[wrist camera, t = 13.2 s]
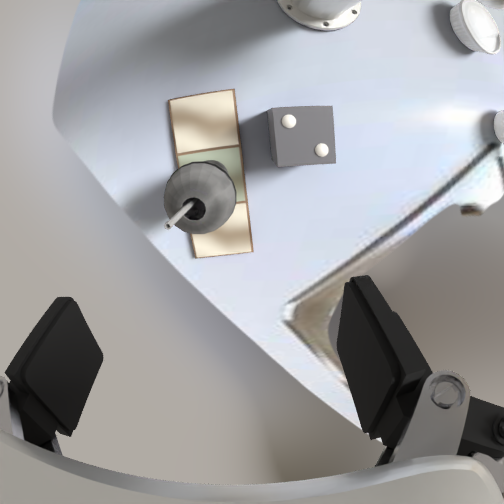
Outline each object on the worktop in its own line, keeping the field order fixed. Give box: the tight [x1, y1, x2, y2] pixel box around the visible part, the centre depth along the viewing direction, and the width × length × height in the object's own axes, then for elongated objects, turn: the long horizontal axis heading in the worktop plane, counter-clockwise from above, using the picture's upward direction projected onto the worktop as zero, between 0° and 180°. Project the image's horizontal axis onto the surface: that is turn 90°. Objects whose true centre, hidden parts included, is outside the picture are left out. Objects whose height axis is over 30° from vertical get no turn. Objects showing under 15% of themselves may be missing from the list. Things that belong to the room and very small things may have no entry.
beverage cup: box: [164, 160, 237, 234], centre depth 29 cm, size 7×7×20 cm
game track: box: [168, 89, 254, 258], centre depth 38 cm, size 24×9×1 cm, turn 6°
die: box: [267, 106, 336, 167], centre depth 33 cm, size 7×7×7 cm
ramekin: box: [450, 0, 501, 54], centre depth 23 cm, size 11×11×5 cm
